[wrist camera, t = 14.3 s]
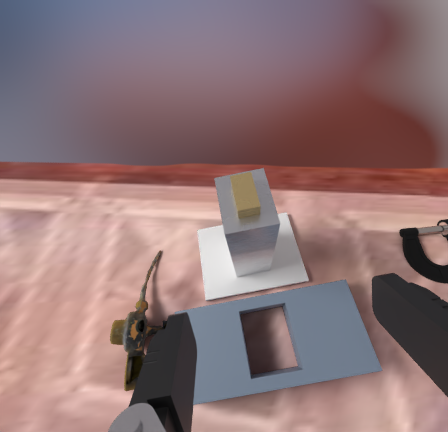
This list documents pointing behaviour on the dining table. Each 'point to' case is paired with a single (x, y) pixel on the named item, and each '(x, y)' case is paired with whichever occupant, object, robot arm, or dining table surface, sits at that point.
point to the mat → (232, 285)
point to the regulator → (134, 335)
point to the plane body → (300, 336)
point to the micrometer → (417, 255)
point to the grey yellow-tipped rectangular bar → (248, 220)
